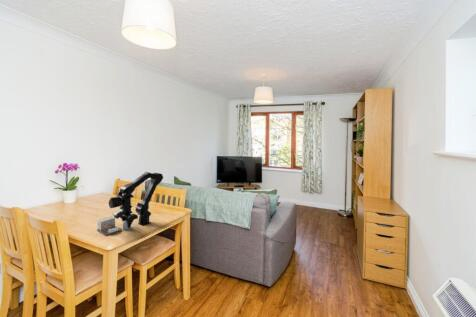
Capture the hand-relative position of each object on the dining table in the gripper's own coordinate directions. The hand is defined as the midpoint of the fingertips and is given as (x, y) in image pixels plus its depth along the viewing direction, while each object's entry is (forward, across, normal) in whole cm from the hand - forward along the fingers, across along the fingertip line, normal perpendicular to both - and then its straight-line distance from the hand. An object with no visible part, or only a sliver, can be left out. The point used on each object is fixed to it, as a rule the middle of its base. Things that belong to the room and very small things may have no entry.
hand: (127, 226), depth 158 cm
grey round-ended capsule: (+2, 0, 0) cm, 2 cm away
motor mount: (+2, -6, -9) cm, 11 cm away
